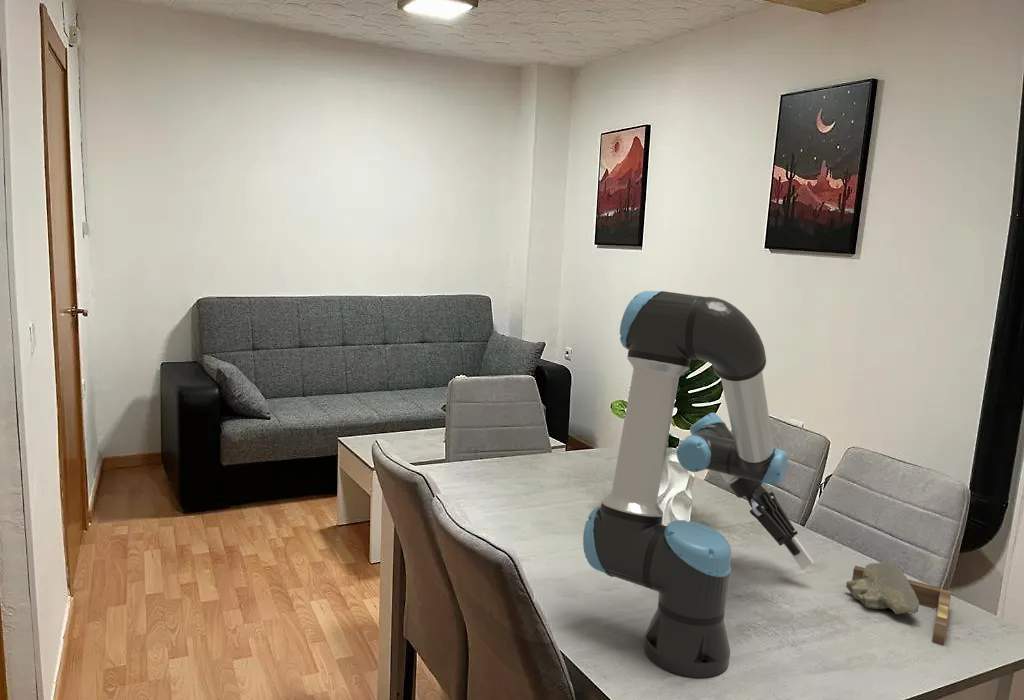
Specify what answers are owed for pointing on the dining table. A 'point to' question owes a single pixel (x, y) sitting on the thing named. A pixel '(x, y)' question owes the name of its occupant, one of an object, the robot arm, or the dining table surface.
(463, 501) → the dining table surface
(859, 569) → the brown wooden l-shaped piece
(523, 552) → the dining table surface
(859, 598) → the jagged rock
